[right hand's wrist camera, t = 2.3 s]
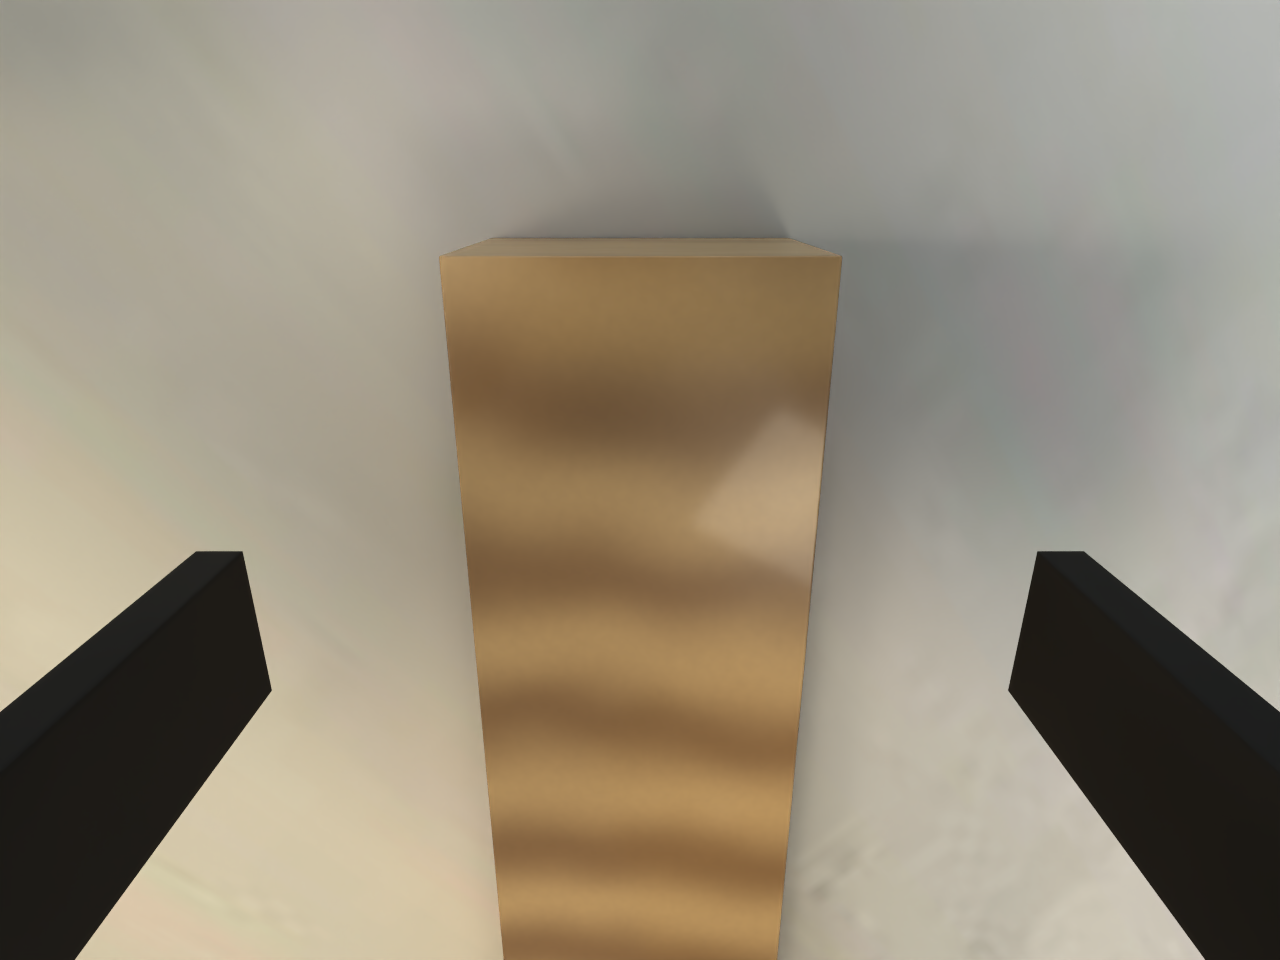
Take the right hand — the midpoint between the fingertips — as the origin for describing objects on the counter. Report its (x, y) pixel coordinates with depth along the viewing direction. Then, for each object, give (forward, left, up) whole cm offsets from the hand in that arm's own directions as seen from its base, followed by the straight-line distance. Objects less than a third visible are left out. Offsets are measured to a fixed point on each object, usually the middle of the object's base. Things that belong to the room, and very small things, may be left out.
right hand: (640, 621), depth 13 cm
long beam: (+4, -36, -15) cm, 39 cm away
